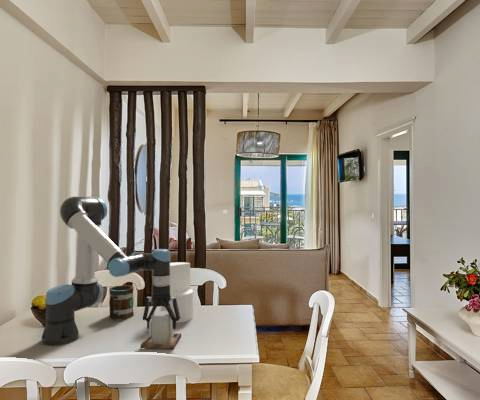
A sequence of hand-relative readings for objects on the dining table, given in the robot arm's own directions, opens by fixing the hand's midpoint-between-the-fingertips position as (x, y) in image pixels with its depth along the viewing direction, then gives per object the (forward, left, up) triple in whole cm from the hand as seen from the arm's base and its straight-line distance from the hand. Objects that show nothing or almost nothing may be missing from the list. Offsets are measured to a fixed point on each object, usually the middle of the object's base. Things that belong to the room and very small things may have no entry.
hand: (161, 335), depth 160 cm
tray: (0, 0, -3) cm, 3 cm away
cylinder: (-2, +35, -3) cm, 35 cm away
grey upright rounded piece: (0, 0, -3) cm, 3 cm away
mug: (-33, +33, -3) cm, 47 cm away
